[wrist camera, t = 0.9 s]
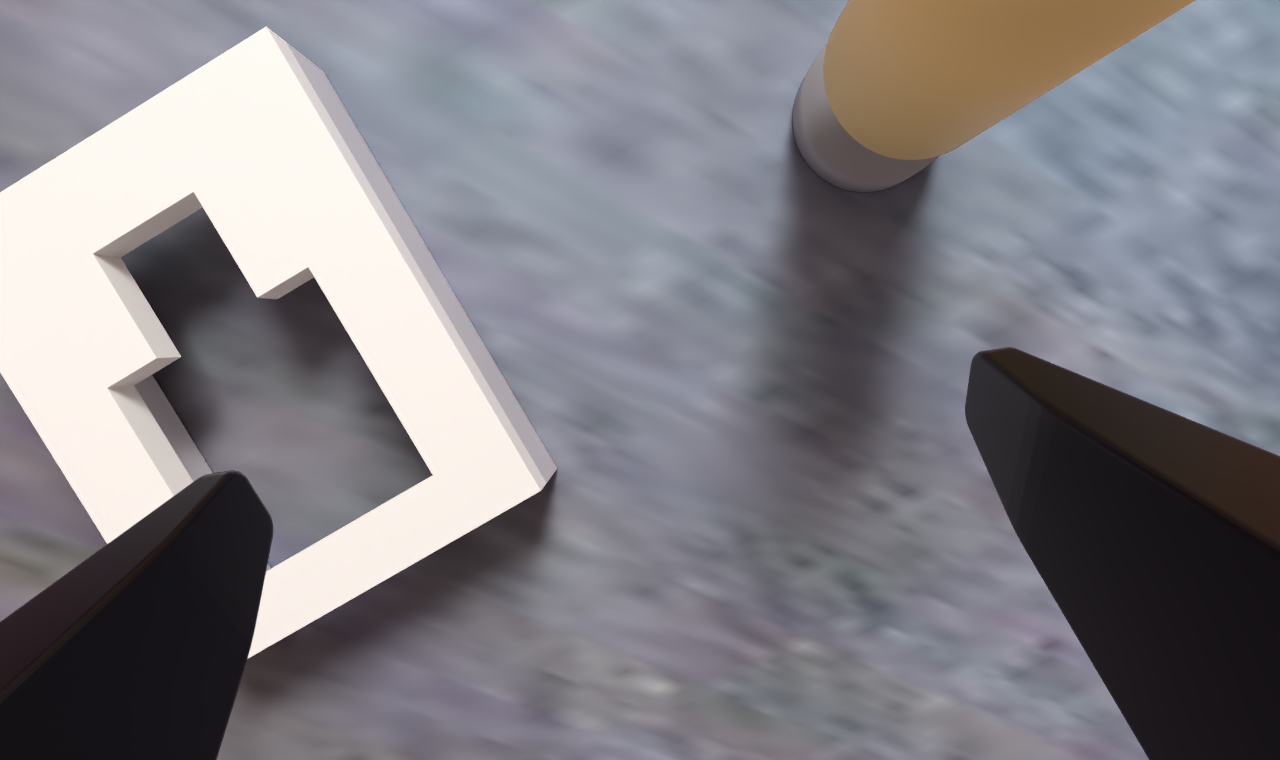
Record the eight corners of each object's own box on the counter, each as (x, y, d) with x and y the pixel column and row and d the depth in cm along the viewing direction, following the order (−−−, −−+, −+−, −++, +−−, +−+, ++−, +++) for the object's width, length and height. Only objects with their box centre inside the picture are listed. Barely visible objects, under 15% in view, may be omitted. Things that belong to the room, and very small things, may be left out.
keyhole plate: (557, 468, 22) (540, 490, 19) (260, 638, 23) (197, 687, 20) (323, 71, 22) (266, 26, 19) (24, 255, 22) (-81, 242, 19)
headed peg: (971, 116, 22) (1448, -213, 9) (864, 222, 22) (1171, 57, 9) (868, 10, 21) (1194, -488, 8) (761, 118, 22) (920, -205, 9)
